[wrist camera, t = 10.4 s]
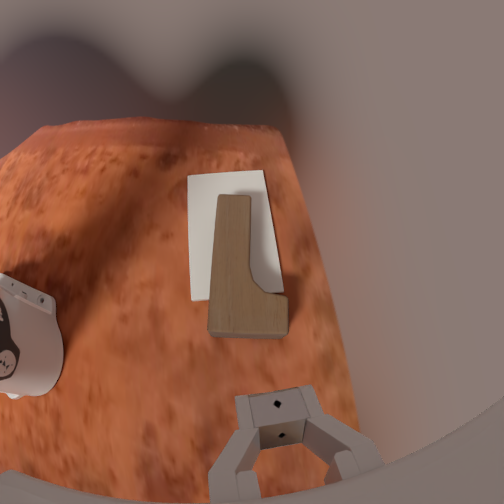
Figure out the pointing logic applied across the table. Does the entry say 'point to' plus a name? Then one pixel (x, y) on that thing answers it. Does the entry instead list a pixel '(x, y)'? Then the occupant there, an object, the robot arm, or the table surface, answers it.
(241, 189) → the white board
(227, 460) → the robot arm
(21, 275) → the table surface
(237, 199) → the wooden block
